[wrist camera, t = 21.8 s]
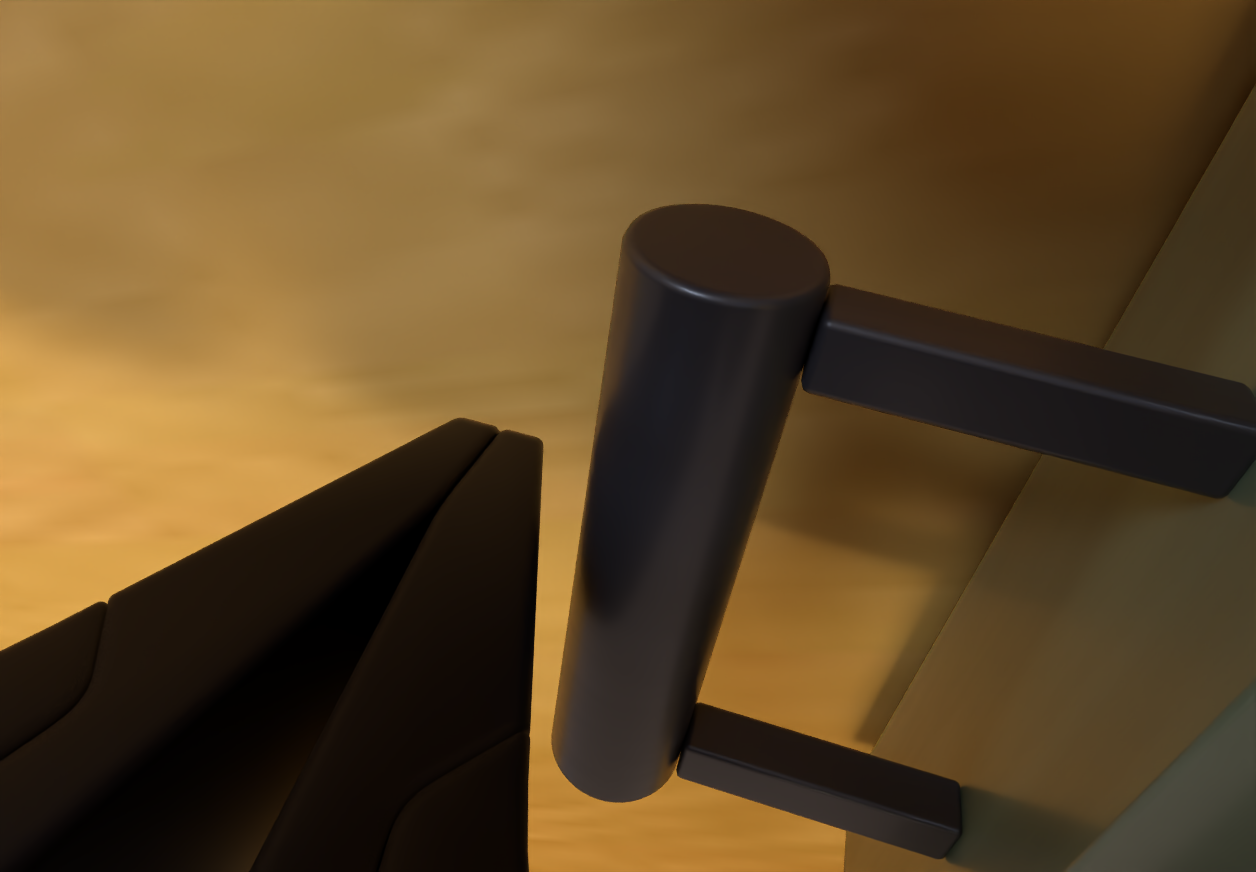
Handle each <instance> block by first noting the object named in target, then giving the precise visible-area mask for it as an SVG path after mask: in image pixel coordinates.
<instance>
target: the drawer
mask: <svg viewBox="0 0 1256 872" xmlns="http://www.w3.org/2000/svg"><path fill="white" fill-rule="evenodd" d="M829 285H830V268H829V264H828V261H827V259H826V257H825V255H824V253H823V252H822V251H821V250H820V248H819V247H818V246H817V245H816V244H815V243H814V242H812V241H811V240H810V239H809V238H807V237H806V236H804V235H803V234H801V233H800V232H798V231H797V230H795V229H793V228H791V227H789V226H787V225H785V224H783V223H781V222H779V221H776V220H774V219H771V218H768V217H766V216H763V215H760V214H756V213H753V212H749V211H745V210H741V209H736V208H732V207H725V206H718V205H708V204H679V205H670V206H664V207H660V208H656V209H653V210H650V211H648V212H645V213H644V214H642V215H640V216H638V217H637V218H636V219H635V220H634V221H633V222H632V223H631V224H630V226H629V227H628V229H627V230H626V232H625V234H624V236H623V239H622V246H621V253H620V260H619V267H618V274H617V281H616V288H615V295H614V302H613V309H612V316H611V323H610V330H609V337H608V344H607V351H606V358H605V365H604V372H603V379H602V386H601V393H600V400H599V407H598V414H597V421H596V428H595V435H594V442H593V449H592V456H591V463H590V470H589V477H588V484H587V491H586V498H585V505H584V512H583V519H582V526H581V533H580V540H579V547H578V554H577V561H576V568H575V575H574V582H573V589H572V596H571V603H570V610H569V617H568V624H567V631H566V638H565V645H564V652H563V659H562V666H561V673H560V680H559V687H558V694H557V701H556V708H555V715H554V722H553V729H552V750H553V754H554V757H555V760H556V762H557V764H558V767H559V768H560V770H561V771H562V773H563V774H564V775H565V777H566V778H567V779H568V780H569V781H570V782H571V783H572V784H573V785H574V786H575V787H576V788H577V789H579V790H580V791H582V792H583V793H585V794H587V795H589V796H591V797H593V798H596V799H599V800H603V801H607V802H615V803H623V802H631V801H635V800H639V799H642V798H644V797H646V796H649V795H651V794H652V793H654V792H656V791H657V790H658V789H659V788H661V787H662V786H663V785H664V784H665V783H666V782H667V781H668V779H669V778H670V776H671V775H672V773H673V771H674V769H675V767H676V764H677V761H678V758H679V761H678V765H677V769H676V771H677V776H679V777H680V778H682V779H685V780H689V781H692V782H695V783H698V784H701V785H704V786H707V787H711V788H714V789H717V790H720V791H723V792H726V793H729V794H733V795H736V796H739V797H742V798H745V799H748V800H752V801H755V802H758V803H761V804H764V805H767V806H770V807H774V808H777V809H780V810H783V811H786V812H789V813H792V814H796V815H799V816H802V817H805V818H808V819H811V820H815V821H818V822H821V823H824V824H827V825H830V826H833V827H837V828H840V829H843V830H846V842H845V859H844V872H1256V84H1255V86H1254V88H1253V89H1252V91H1251V93H1250V95H1249V96H1248V98H1247V100H1246V101H1245V103H1244V105H1243V107H1242V108H1241V110H1240V112H1239V114H1238V115H1237V117H1236V119H1235V121H1234V122H1233V124H1232V126H1231V128H1230V129H1229V131H1228V133H1227V134H1226V136H1225V138H1224V140H1223V141H1222V143H1221V145H1220V147H1219V148H1218V150H1217V152H1216V154H1215V155H1214V157H1213V159H1212V161H1211V162H1210V164H1209V166H1208V168H1207V169H1206V171H1205V173H1204V174H1203V176H1202V178H1201V180H1200V181H1199V183H1198V185H1197V187H1196V188H1195V190H1194V192H1193V194H1192V195H1191V197H1190V199H1189V201H1188V202H1187V204H1186V206H1185V207H1184V209H1183V211H1182V213H1181V214H1180V216H1179V218H1178V220H1177V221H1176V223H1175V225H1174V227H1173V228H1172V230H1171V232H1170V234H1169V235H1168V237H1167V239H1166V241H1165V242H1164V244H1163V246H1162V247H1161V249H1160V251H1159V253H1158V254H1157V256H1156V258H1155V260H1154V261H1153V263H1152V265H1151V267H1150V268H1149V270H1148V272H1147V274H1146V275H1145V277H1144V279H1143V281H1142V282H1141V284H1140V286H1139V287H1138V289H1137V291H1136V293H1135V294H1134V296H1133V298H1132V300H1131V301H1130V303H1129V305H1128V307H1127V308H1126V310H1125V312H1124V314H1123V315H1122V317H1121V319H1120V320H1119V322H1118V324H1117V326H1116V327H1115V329H1114V331H1113V333H1112V334H1111V336H1110V338H1109V340H1108V341H1107V343H1106V345H1105V347H1104V348H1103V349H1101V348H1097V347H1093V346H1089V345H1085V344H1081V343H1077V342H1072V341H1068V340H1064V339H1060V338H1056V337H1052V336H1048V335H1044V334H1040V333H1036V332H1031V331H1027V330H1023V329H1019V328H1015V327H1011V326H1007V325H1003V324H999V323H994V322H990V321H986V320H982V319H978V318H974V317H970V316H966V315H962V314H957V313H953V312H949V311H945V310H941V309H937V308H933V307H929V306H925V305H921V304H916V303H912V302H908V301H904V300H900V299H896V298H892V297H888V296H884V295H879V294H875V293H871V292H867V291H863V290H859V289H855V288H851V287H847V286H843V285H838V284H835V285H830V286H829ZM803 366H804V368H803ZM802 369H803V374H802V380H801V382H802V388H803V390H804V391H806V392H808V393H810V394H814V395H818V396H821V397H825V398H829V399H833V400H837V401H841V402H844V403H848V404H852V405H856V406H860V407H864V408H868V409H871V410H875V411H879V412H883V413H887V414H891V415H895V416H898V417H902V418H906V419H910V420H914V421H918V422H922V423H925V424H929V425H933V426H937V427H941V428H945V429H949V430H952V431H956V432H960V433H964V434H968V435H972V436H976V437H979V438H983V439H987V440H991V441H995V442H999V443H1003V444H1006V445H1010V446H1014V447H1018V448H1022V449H1026V450H1030V451H1033V452H1037V453H1041V454H1042V456H1041V458H1040V460H1039V461H1038V463H1037V465H1036V467H1035V468H1034V470H1033V472H1032V473H1031V475H1030V477H1029V479H1028V480H1027V482H1026V484H1025V486H1024V487H1023V489H1022V491H1021V493H1020V494H1019V496H1018V498H1017V500H1016V501H1015V503H1014V505H1013V506H1012V508H1011V510H1010V512H1009V513H1008V515H1007V517H1006V519H1005V520H1004V522H1003V524H1002V526H1001V527H1000V529H999V531H998V533H997V534H996V536H995V538H994V540H993V541H992V543H991V545H990V546H989V548H988V550H987V552H986V553H985V555H984V557H983V559H982V560H981V562H980V564H979V566H978V567H977V569H976V571H975V573H974V574H973V576H972V578H971V580H970V581H969V583H968V585H967V586H966V588H965V590H964V592H963V593H962V595H961V597H960V599H959V600H958V602H957V604H956V606H955V607H954V609H953V611H952V613H951V614H950V616H949V618H948V619H947V621H946V623H945V625H944V626H943V628H942V630H941V632H940V633H939V635H938V637H937V639H936V640H935V642H934V644H933V646H932V647H931V649H930V651H929V653H928V654H927V656H926V658H925V659H924V661H923V663H922V665H921V666H920V668H919V670H918V672H917V673H916V675H915V677H914V679H913V680H912V682H911V684H910V686H909V687H908V689H907V691H906V693H905V694H904V696H903V698H902V699H901V701H900V703H899V705H898V706H897V708H896V710H895V712H894V713H893V715H892V717H891V719H890V720H889V722H888V724H887V726H886V727H885V729H884V731H883V732H882V734H881V736H880V738H879V739H878V741H877V743H876V745H875V746H874V748H873V750H872V752H871V753H870V754H867V753H864V752H860V751H857V750H854V749H851V748H847V747H844V746H841V745H838V744H834V743H831V742H828V741H824V740H821V739H818V738H815V737H811V736H808V735H805V734H802V733H798V732H795V731H792V730H789V729H785V728H782V727H779V726H775V725H772V724H769V723H766V722H762V721H759V720H756V719H753V718H749V717H746V716H743V715H740V714H736V713H733V712H730V711H727V710H723V709H720V708H717V707H713V706H710V705H707V704H704V703H696V702H697V698H698V695H699V692H700V689H701V686H702V683H703V680H704V677H705V673H706V670H707V667H708V664H709V661H710V658H711V655H712V651H713V648H714V645H715V642H716V639H717V636H718V633H719V629H720V626H721V623H722V620H723V617H724V614H725V611H726V608H727V604H728V601H729V598H730V595H731V592H732V589H733V586H734V582H735V579H736V576H737V573H738V570H739V567H740V564H741V561H742V557H743V554H744V551H745V548H746V545H747V542H748V539H749V535H750V532H751V529H752V526H753V523H754V520H755V517H756V514H757V510H758V507H759V504H760V501H761V498H762V495H763V492H764V488H765V485H766V482H767V479H768V476H769V473H770V470H771V467H772V463H773V460H774V457H775V454H776V451H777V448H778V445H779V441H780V438H781V435H782V432H783V429H784V426H785V423H786V420H787V416H788V413H789V410H790V407H791V404H792V401H793V398H794V394H795V391H796V388H797V385H798V382H799V379H800V376H801V373H802ZM679 755H680V756H679Z"/></svg>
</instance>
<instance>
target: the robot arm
mask: <svg viewBox="0 0 1256 872" xmlns="http://www.w3.org/2000/svg"><path fill="white" fill-rule="evenodd" d="M542 465H543V442H542V441H541V440H540V439H539V438H537V437H533V436H529V435H526V434H522V433H518V432H515V431H511V430H504V431H501V432H500V431H499V430H498V429H497V428H496V427H495V426H492V425H489V424H485V423H481V422H478V421H474V420H470V419H466V418H457V419H454V420H451V421H449V422H447V423H445V424H443V425H441V426H440V427H438V428H436V429H434V430H432V431H430V432H428V433H426V434H424V435H422V436H420V437H418V438H416V439H414V440H412V441H410V442H408V443H407V444H405V445H403V446H401V447H399V448H397V449H395V450H393V451H391V452H389V453H387V454H385V455H383V456H381V457H379V458H377V459H375V460H374V461H372V462H370V463H368V464H366V465H364V466H362V467H360V468H358V469H356V470H354V471H352V472H350V473H348V474H346V475H344V476H342V477H341V478H339V479H337V480H335V481H333V482H331V483H329V484H327V485H325V486H323V487H321V488H319V489H317V490H315V491H313V492H311V493H309V494H308V495H306V496H304V497H302V498H300V499H298V500H296V501H294V502H292V503H290V504H288V505H286V506H284V507H282V508H280V509H278V510H276V511H275V512H273V513H271V514H269V515H267V516H265V517H263V518H261V519H259V520H257V521H255V522H253V523H251V524H249V525H247V526H245V527H243V528H242V529H240V530H238V531H236V532H234V533H232V534H230V535H228V536H226V537H224V538H222V539H220V540H218V541H216V542H214V543H212V544H210V545H209V546H207V547H205V548H203V549H201V550H199V551H197V552H195V553H193V554H191V555H189V556H187V557H185V558H183V559H181V560H179V561H177V562H176V563H174V564H172V565H170V566H168V567H166V568H164V569H162V570H160V571H158V572H156V573H154V574H152V575H150V576H148V577H146V578H144V579H143V580H141V581H139V582H137V583H135V584H133V585H131V586H129V587H127V588H125V589H123V590H121V591H119V592H117V593H115V594H113V595H112V596H111V597H110V598H109V600H108V604H107V603H105V602H97V603H95V604H93V605H91V606H89V607H87V608H86V609H84V610H82V611H80V612H78V613H76V614H74V615H72V616H70V617H68V618H66V619H64V620H62V621H60V622H58V623H56V624H54V625H52V626H51V627H48V628H46V629H44V630H42V631H40V632H38V633H36V634H34V635H32V636H30V637H28V638H26V639H24V640H22V641H20V642H18V643H16V644H14V645H12V646H10V647H8V648H6V649H4V650H2V651H0V872H529V864H528V775H529V754H530V737H529V733H530V721H531V700H532V679H533V657H534V636H535V614H536V593H537V572H538V550H539V529H540V508H541V486H542Z"/></svg>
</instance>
